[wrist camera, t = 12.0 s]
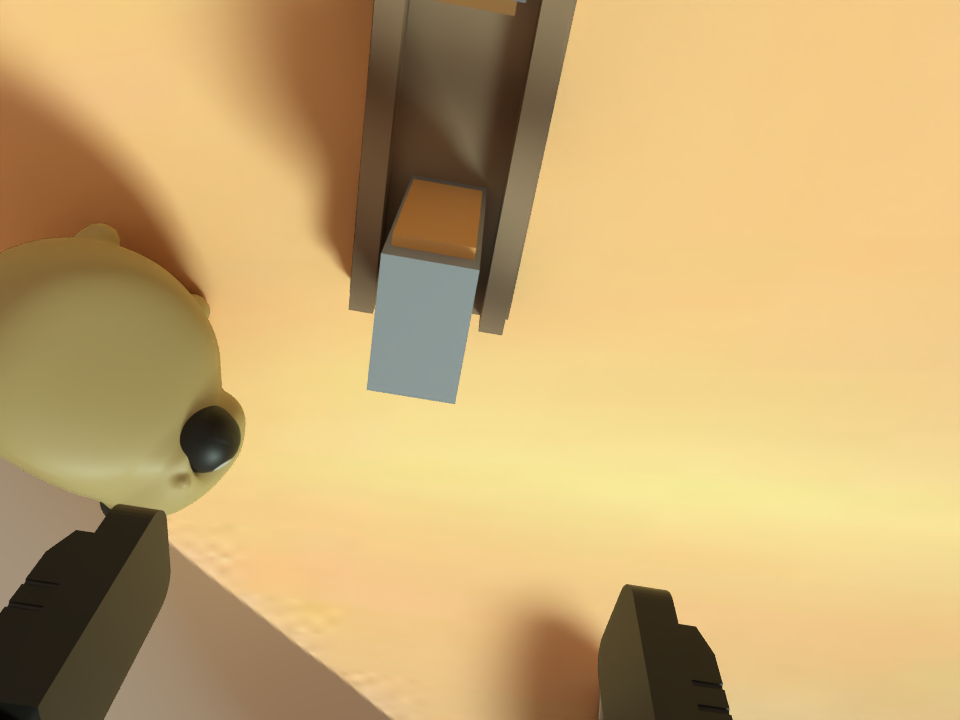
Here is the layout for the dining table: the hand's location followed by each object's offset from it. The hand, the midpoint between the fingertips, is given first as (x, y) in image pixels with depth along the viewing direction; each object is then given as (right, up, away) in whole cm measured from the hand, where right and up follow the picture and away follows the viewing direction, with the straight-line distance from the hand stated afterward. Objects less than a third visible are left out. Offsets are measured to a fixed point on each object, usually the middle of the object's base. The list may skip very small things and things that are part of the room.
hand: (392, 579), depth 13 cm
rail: (+1, +15, +14) cm, 21 cm away
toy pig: (-14, +6, +21) cm, 26 cm away
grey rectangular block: (0, +9, +17) cm, 19 cm away
